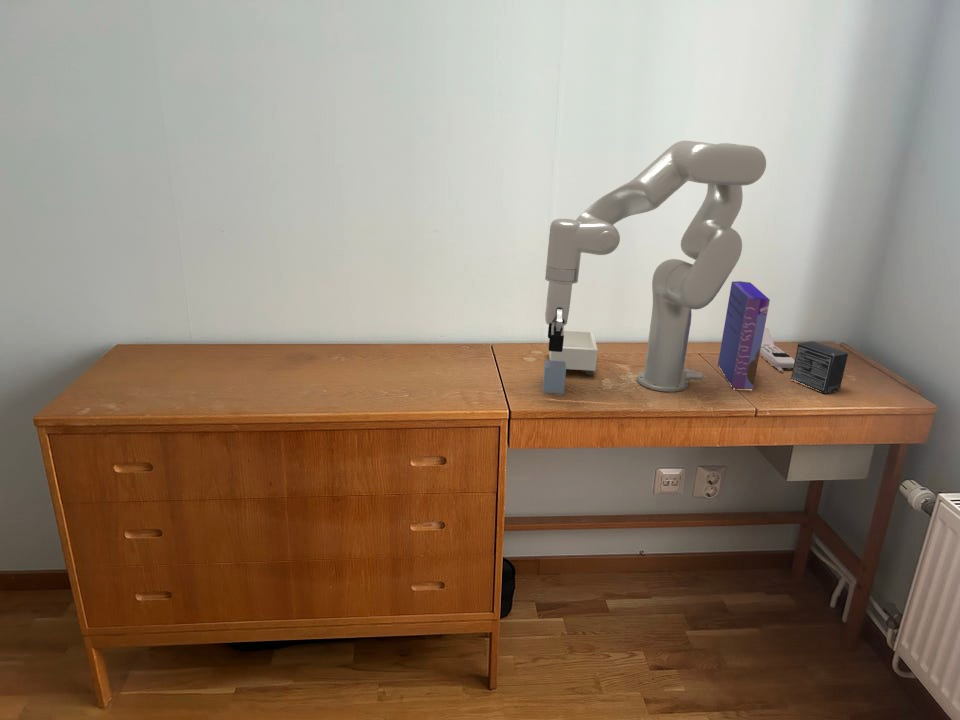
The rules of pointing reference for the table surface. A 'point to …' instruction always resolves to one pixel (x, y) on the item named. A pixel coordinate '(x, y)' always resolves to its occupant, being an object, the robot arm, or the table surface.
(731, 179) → the robot arm
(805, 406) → the table surface
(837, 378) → the small box
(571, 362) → the white storage bin
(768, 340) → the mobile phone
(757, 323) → the cereal box
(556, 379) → the block
